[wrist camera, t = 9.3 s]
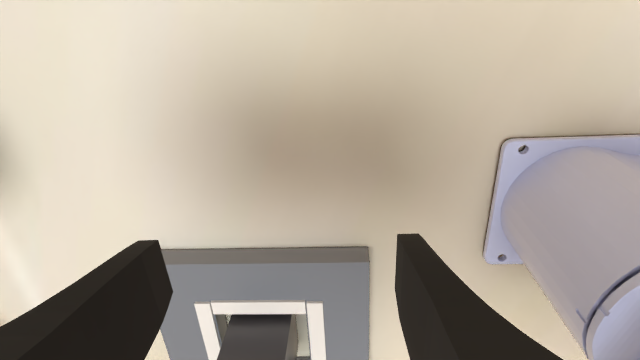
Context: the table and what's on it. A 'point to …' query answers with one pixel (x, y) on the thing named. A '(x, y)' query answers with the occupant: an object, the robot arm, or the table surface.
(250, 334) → the plug block
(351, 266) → the socket plate
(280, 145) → the table surface
